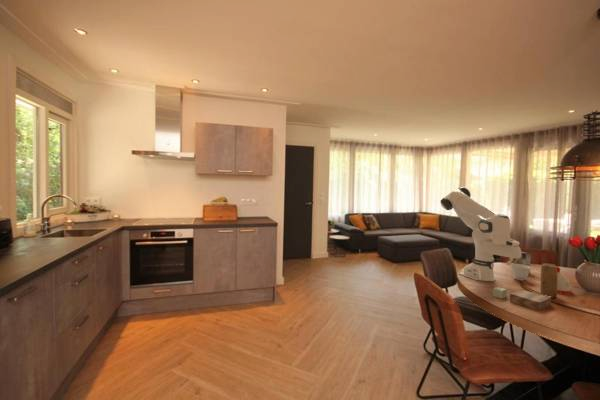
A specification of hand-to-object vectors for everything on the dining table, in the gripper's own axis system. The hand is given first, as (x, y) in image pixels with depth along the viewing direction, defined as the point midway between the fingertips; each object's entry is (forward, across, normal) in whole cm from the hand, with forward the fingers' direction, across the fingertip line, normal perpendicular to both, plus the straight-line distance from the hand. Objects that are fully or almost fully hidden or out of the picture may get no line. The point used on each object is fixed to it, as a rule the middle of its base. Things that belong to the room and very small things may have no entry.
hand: (500, 262), depth 169 cm
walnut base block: (+22, +14, +4) cm, 26 cm away
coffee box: (+22, -18, +72) cm, 77 cm away
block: (+22, +14, +28) cm, 38 cm away
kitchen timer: (+22, +12, +46) cm, 52 cm away
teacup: (+22, -11, +50) cm, 55 cm away
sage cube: (+21, 0, 0) cm, 21 cm away
